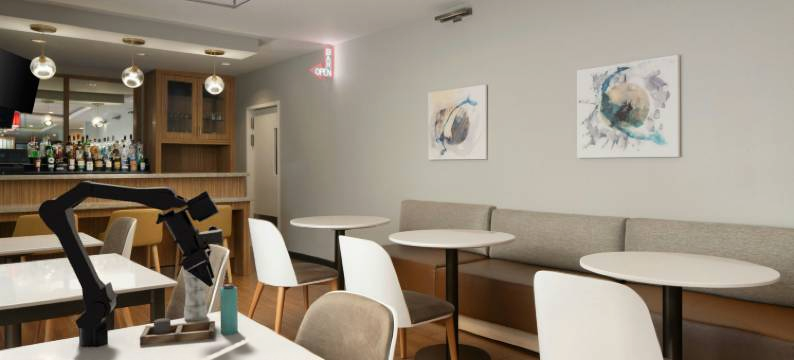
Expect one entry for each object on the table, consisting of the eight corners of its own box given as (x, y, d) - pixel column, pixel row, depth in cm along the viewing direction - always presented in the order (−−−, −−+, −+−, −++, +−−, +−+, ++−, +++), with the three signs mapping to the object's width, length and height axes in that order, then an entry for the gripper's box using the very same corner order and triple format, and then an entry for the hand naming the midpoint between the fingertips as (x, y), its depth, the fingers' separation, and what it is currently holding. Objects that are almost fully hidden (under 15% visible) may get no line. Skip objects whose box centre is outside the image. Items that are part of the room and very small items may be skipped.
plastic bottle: (192, 326, 160) (191, 256, 159) (179, 321, 164) (178, 253, 163) (212, 320, 165) (211, 253, 164) (198, 316, 169) (197, 250, 168)
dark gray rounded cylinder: (150, 338, 145) (150, 321, 145) (162, 334, 149) (162, 317, 149) (162, 341, 144) (161, 323, 144) (174, 336, 147) (173, 319, 147)
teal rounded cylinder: (217, 337, 150) (216, 286, 149) (228, 332, 154) (227, 282, 154) (230, 339, 148) (229, 287, 148) (241, 334, 152) (240, 284, 152)
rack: (140, 349, 141) (139, 337, 141) (145, 337, 150) (145, 326, 150) (213, 342, 146) (213, 331, 145) (215, 331, 155) (214, 320, 154)
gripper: (210, 220, 140) (240, 274, 142) (213, 212, 158) (239, 260, 160) (168, 241, 137) (199, 296, 140) (175, 231, 155) (203, 280, 158)
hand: (212, 281), depth 149 cm, fingers open, 9 cm apart
